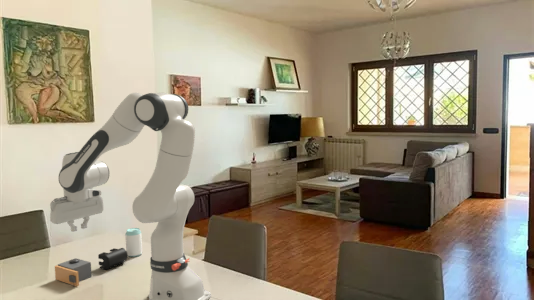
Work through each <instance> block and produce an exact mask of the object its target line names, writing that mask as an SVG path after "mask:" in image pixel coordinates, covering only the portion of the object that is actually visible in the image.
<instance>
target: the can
mask: <svg viewBox="0 0 534 300" xmlns="http://www.w3.org/2000/svg"><path fill="white" fill-rule="evenodd" d="M124 236H125V250H126V251H127V255H128V257H130V258H135V257H139V256H141V254H142V253H143V243H142V242H143V240H142V239H143V238H142V231H141V229H140V228H137V227H131V228H128V229H126V232H125V235H124Z"/></svg>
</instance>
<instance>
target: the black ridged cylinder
mask: <svg viewBox="0 0 534 300" xmlns="http://www.w3.org/2000/svg"><path fill="white" fill-rule="evenodd" d="M97 257H98V260H99V261H98V266H99V269H101V270H105V271H107V270H109V269H112V268H114V267H116V266H119V265H121V264H123V263H125V262H126V261H127V260H128V257H129V256H128V255H127V251H126V248H124V247H120V248H112V249H109V252H101V253H100V254H98V256H97ZM100 260H102V261H100Z"/></svg>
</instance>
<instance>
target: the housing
mask: <svg viewBox="0 0 534 300" xmlns="http://www.w3.org/2000/svg"><path fill="white" fill-rule="evenodd" d="M57 266H61V267H64V268H67V269H71V270H74V271H78V277H79V283H80V282H82V281H85V280H87V279H89V278H92V277H93V276H92V275H93V274H92V263H91V262H90V261H87V260H84V259H80V258H72V259H69V260H66V261H64V262H61V263H58V264H57Z"/></svg>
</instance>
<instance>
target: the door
mask: <svg viewBox="0 0 534 300" xmlns="http://www.w3.org/2000/svg"><path fill="white" fill-rule="evenodd" d="M54 276H55V277H54V279H55V280H57V281H60V282H63V283H66V284H69V285H72V286H73V287H79V286H80V282H79V277H78V271H74V270H71V269H67V268H64V267H61V266H58V264H56V265H55V266H54Z"/></svg>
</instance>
